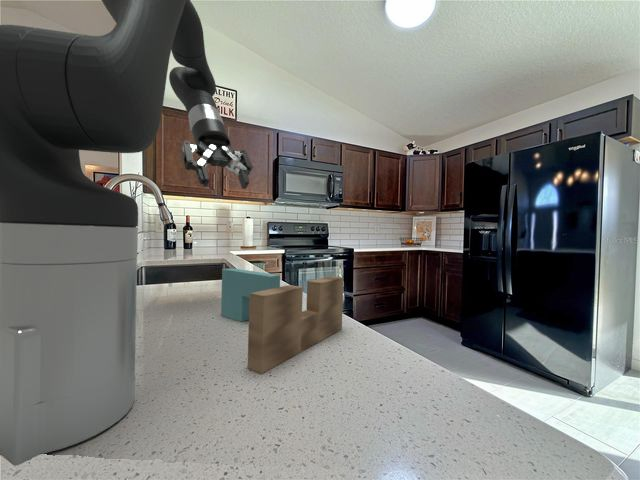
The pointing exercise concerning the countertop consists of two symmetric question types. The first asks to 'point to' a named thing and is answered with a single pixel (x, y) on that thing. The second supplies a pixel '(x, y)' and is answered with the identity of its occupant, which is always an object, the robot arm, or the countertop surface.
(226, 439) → the countertop surface
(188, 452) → the countertop surface
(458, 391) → the countertop surface
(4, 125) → the robot arm
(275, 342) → the u-shaped wooden block
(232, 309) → the teal l-shaped piece
